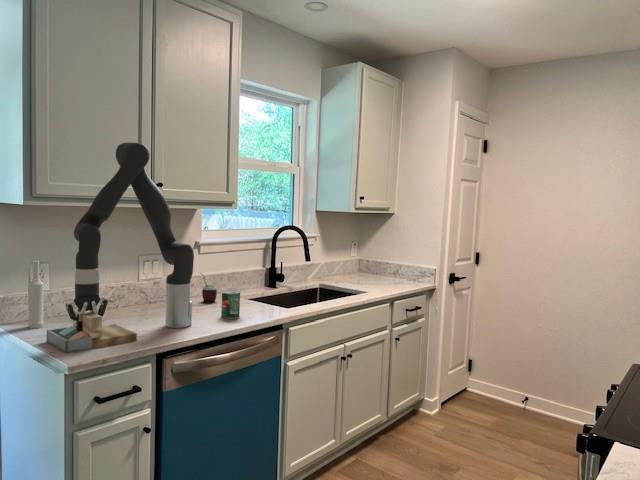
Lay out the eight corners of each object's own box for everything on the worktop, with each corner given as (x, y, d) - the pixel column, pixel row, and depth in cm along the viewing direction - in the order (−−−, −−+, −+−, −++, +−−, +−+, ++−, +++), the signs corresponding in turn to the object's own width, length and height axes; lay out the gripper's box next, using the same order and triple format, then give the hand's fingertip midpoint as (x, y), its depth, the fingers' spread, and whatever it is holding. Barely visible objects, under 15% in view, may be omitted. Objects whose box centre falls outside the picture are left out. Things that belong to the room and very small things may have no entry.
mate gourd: (217, 301, 249) (218, 271, 248) (214, 304, 241) (214, 273, 240) (203, 300, 249) (204, 270, 248) (198, 303, 241) (199, 272, 240)
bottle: (46, 325, 190) (46, 260, 188) (39, 328, 185) (39, 262, 183) (32, 324, 190) (32, 260, 188) (25, 328, 185) (25, 261, 183)
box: (71, 337, 175) (71, 326, 175) (92, 348, 164) (92, 336, 164) (46, 341, 169) (46, 330, 169) (65, 353, 158) (65, 341, 158)
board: (114, 330, 187) (114, 324, 187) (136, 340, 175) (136, 333, 175) (71, 337, 175) (71, 330, 175) (92, 348, 164) (92, 341, 164)
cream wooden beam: (84, 328, 177) (84, 309, 176) (101, 336, 168) (101, 316, 167) (73, 330, 174) (73, 310, 174) (89, 339, 165) (89, 318, 164)
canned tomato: (217, 317, 215) (218, 292, 214) (228, 313, 222) (229, 289, 221) (232, 319, 212) (232, 294, 211) (243, 316, 219) (243, 291, 218)
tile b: (84, 336, 168) (81, 330, 167) (89, 339, 165) (86, 333, 164) (71, 344, 165) (68, 338, 164) (77, 347, 162) (73, 341, 161)
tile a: (74, 331, 174) (71, 325, 173) (79, 334, 171) (76, 328, 170) (61, 339, 171) (58, 333, 170) (66, 341, 168) (63, 335, 167)
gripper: (103, 278, 177) (103, 325, 178) (60, 281, 167) (61, 331, 168) (112, 280, 172) (112, 329, 173) (69, 285, 162) (69, 336, 163)
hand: (87, 330), depth 171 cm, fingers closed on cream wooden beam, 4 cm apart
